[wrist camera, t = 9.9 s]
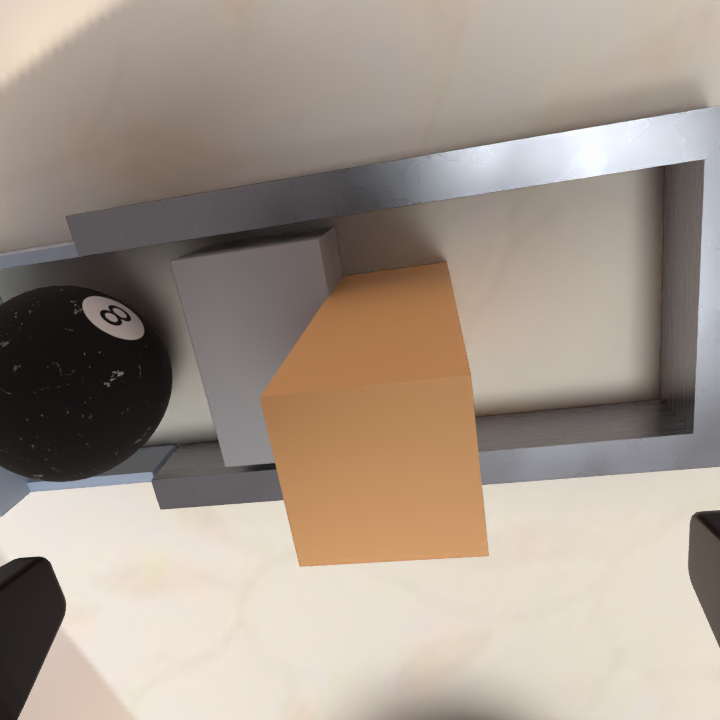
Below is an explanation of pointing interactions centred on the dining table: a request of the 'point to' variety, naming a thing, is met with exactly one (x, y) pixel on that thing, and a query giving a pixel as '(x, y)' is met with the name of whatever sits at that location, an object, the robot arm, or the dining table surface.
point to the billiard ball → (77, 383)
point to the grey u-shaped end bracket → (10, 488)
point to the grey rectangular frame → (478, 176)
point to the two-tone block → (341, 394)
